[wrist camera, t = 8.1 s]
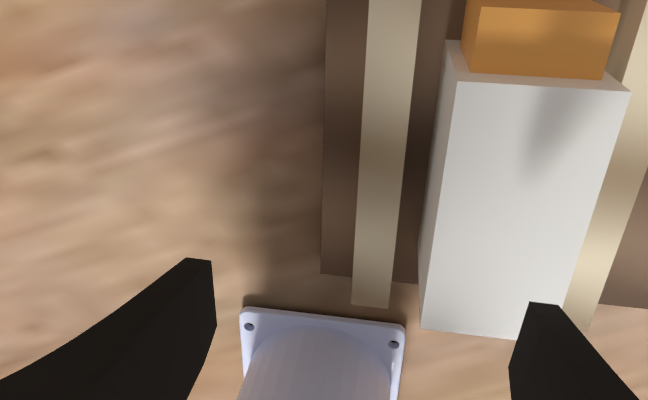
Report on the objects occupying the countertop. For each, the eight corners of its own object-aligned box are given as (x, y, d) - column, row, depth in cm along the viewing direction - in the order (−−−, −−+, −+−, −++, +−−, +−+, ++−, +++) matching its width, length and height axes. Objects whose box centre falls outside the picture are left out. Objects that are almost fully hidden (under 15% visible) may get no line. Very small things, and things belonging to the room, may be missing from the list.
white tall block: (520, 252, 20) (550, 344, 16) (417, 242, 21) (419, 328, 16) (586, -8, 15) (655, 20, 11) (452, -14, 16) (467, 11, 12)
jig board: (868, 317, 20) (931, 371, 18) (324, 260, 23) (313, 300, 20) (1096, -4, 14) (1235, 11, 12) (331, -32, 17) (318, -24, 15)
